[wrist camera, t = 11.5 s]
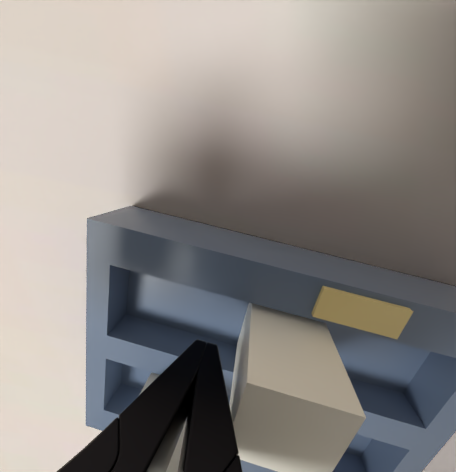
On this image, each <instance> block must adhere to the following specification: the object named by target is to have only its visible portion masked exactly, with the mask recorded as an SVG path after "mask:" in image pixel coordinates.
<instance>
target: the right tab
mask: <svg viewBox="0 0 456 472" xmlns="http://www.w3.org/2000/svg"><path fill="white" fill-rule="evenodd" d="M229 406H230V411H231V416H232V421H233V426H234V431H235V436H236V442H237V447H238V452H239V453H238V455H239V456H240V460H243V461H246V462H249V463H252V464H255V465H258V466H261V467H264V468H268V469H271V470H274V471H277V472H333V470H334V469H335V467H336V465H337V464H338V462H339V461H340V459H341V457H342V456H343V454H344V453H345V451H346V449H347V448H348V446H349V444H350V443H351V441H352V440H353V438H354V436H355V435H356V433H357V432H358V430H359V428H360V427H361V425H362V424H363V422H364V420H365V419H366V416H365V414H364V411H363V409H362V407H361V404H360V402H359V400H358V397H357V395H356V393H355V390H354V388H353V386H352V383H351V381H350V379H349V376H348V374H347V372H346V369H345V367H344V365H343V363H342V360H341V358H340V356H339V353H338V351H337V349H336V346H335V344H334V342H333V339H332V337H331V335H330V332H329V330H328V328H327V325H326V323H323V322H320V321H316V320H312V319H309V318H305V317H301V316H297V315H294V314H290V313H286V312H283V311H279V310H275V309H271V308H268V307H264V306H260V305H257V304H253V303H249V304H248V308H247V311H246V314H245V318H244V321H243V325H242V328H241V332H240V335H239V339H238V342H237V349H236V357H235V365H234V372H233V380H232V388H231V396H230V404H229Z"/></svg>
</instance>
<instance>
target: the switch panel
mask: <svg viewBox="0 0 456 472" xmlns="http://www.w3.org/2000/svg"><path fill="white" fill-rule="evenodd" d="M249 303H253V304H257V305H260V306H264V307H268V308H271V309H275V310H279V311H283V312H286V313H290V314H294V315H297V316H301V317H305V318H309V319H312V320H316V321H320V322H323V323H326V325H327V328H328V330H329V332H330V335H331V337H332V339H333V342H334V344H335V346H336V349H337V351H338V353H339V356H340V358H341V360H342V363H343V365H344V367H345V369H346V372H347V374H348V376H349V379H350V381H351V383H352V386H353V388H354V390H355V393H356V395H357V397H358V400H359V402H360V404H361V407H362V409H363V411H364V414H365V416H366V419H365V420H364V422H363V424H362V425H361V427H360V428H359V430H358V432H357V433H356V435H355V436H354V438H353V440H352V441H351V443H350V444H349V446H348V448H347V449H346V451H345V453H344V454H343V456H342V457H341V459H340V461H339V462H338V464H337V465H336V467H335V469H334V470H333V472H422V471H423V469H424V468H425V467H426V466H427V465H428V463H429V462H430V461H431V460H432V459H433V458H434V456H435V455H436V454H437V453H438V452H439V450H440V449H441V448H442V447H443V446H444V445H445V443H446V442H447V441H448V440H449V439H450V437H451V436H452V435H453V434H454V433H455V432H456V286H452V285H448V284H444V283H440V282H436V281H432V280H428V279H424V278H420V277H416V276H412V275H408V274H404V273H400V272H396V271H392V270H388V269H384V268H380V267H376V266H372V265H368V264H364V263H360V262H356V261H352V260H348V259H344V258H340V257H336V256H332V255H328V254H324V253H320V252H316V251H312V250H308V249H303V248H299V247H295V246H291V245H287V244H283V243H279V242H275V241H271V240H267V239H263V238H259V237H255V236H251V235H247V234H243V233H239V232H235V231H231V230H227V229H223V228H219V227H215V226H211V225H207V224H203V223H199V222H195V221H191V220H187V219H183V218H179V217H175V216H171V215H167V214H163V213H159V212H155V211H151V210H147V209H143V208H139V207H135V206H129V207H125V208H122V209H118V210H115V211H111V212H108V213H104V214H101V215H97V216H94V217H90V218H87V304H86V425H87V426H90V427H93V428H96V429H99V430H102V431H103V430H104V429H105V428H106V427H107V426H108V425H109V424H110V423H111V422H112V421H113V420H114V419H115V418H117V417H118V418H119V415H120V414H121V413H122V412H123V411H124V410H125V409H126V408H127V407H128V406H129V405H130V404H131V403H132V402H133V401H134V400H135V399H136V398H137V397H138V396H139V394H140V393H141V391H142V389H143V387H144V385H145V383H146V381H147V379H148V378H149V376H150V374H151V372H152V373H155V374H159V375H160V374H161V373H162V372H163V371H164V370H165V369H166V368H167V367H168V366H170V365H171V364H172V363H173V362H174V361H175V360H176V359H177V358H178V357H179V356H180V355H181V354H182V353H183V352H184V351H185V350H186V349H187V348H188V347H189V346H190V345H191V344H192V343H193V342H194V341H195V340H196V339H199V340H203V341H206V342H210V343H214V344H217V346H218V350H219V355H220V360H221V365H222V370H223V375H224V380H225V385H226V391H227V396H228V401H229V404H230V396H231V388H232V380H233V372H234V365H235V357H236V349H237V342H238V339H239V335H240V332H241V328H242V325H243V321H244V318H245V314H246V311H247V308H248V304H249ZM240 461H241V466H242V471H243V472H277V471H274V470H271V469H268V468H264V467H261V466H258V465H255V464H252V463H249V462H246V461H243V460H240Z"/></svg>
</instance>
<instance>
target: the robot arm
mask: <svg viewBox="0 0 456 472" xmlns="http://www.w3.org/2000/svg"><path fill="white" fill-rule="evenodd" d="M186 419H187V421H186ZM185 421H186V426H185V432H184V438H183V444H182V449H181V455H180V461H179V467H178V472H243V471H242V466H241V461H240V456H239V455H238V453H239V452H238V447H237V442H236V436H235V431H234V426H233V421H232V416H231V411H230V406H229V401H228V396H227V391H226V385H225V380H224V375H223V370H222V365H221V360H220V355H219V350H218V346H217V344H214V343H210V342H206V341H203V340H199V339H196V340H195V341H194V342H193V343H192V344H191V345H190V346H189V347H188V348H187V349H186V350H185V351H184V352H183V353H182V354H181V355H180V356H179V357H178V358H177V359H176V360H175V361H174V362H173V363H172V364H171V365H170V366H168V367H167V368H166V369H165V370H164V371H163V372H162V373H161V374H160V375H159V376H158V377H157V378H156V379H155V380H154V381H153V382H152V383H151V384H150V385H149V386H148V387H147V388H146V389H145V390H144V391H143V392H142V393H141V394H140V395H139V396H138V397H137V398H136V399H135V400H134V401H133V402H132V403H131V404H130V405H129V406H128V407H127V408H126V409H125V410H124V411H123V412H122V413H121V414H120V415H119V418H118V417H117V418H115V419H114V420H113V421H112V422H111V423H110V424H109V425H108V426H107V427H106V428H105V429H104V430H103V431H102V432H101V433H100V434H99V435H98V436H97V437H96V438H94V439H93V440H92V441H91V442H90V443H89V444H88V445H87V446H86V447H85V448H84V449H83V450H81V451H80V452H79V453H78V454H77V455H76V456H74V457H73V458H72V459H71V460H70V461H69V462H67V463H66V464H65V465H64V466H63V467H62V468H60V469H59V470H58V471H57V472H166V470H167V468H168V465H169V463H170V460H171V457H172V455H173V452H174V450H175V447H176V445H177V442H178V439H179V437H180V434H181V432H182V429H183V427H184V424H185Z"/></svg>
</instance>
